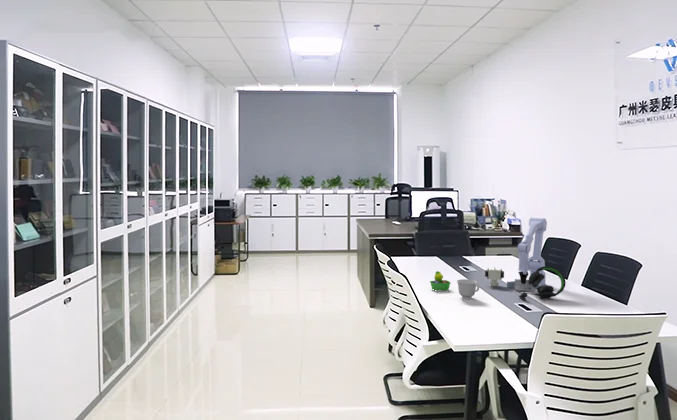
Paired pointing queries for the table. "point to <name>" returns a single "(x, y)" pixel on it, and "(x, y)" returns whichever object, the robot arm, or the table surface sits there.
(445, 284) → the fruit basket
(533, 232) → the robot arm
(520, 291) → the pad
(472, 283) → the teacup
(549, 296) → the headset
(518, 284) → the angle bracket
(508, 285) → the corner walls
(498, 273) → the pneumatic valve
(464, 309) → the table surface
